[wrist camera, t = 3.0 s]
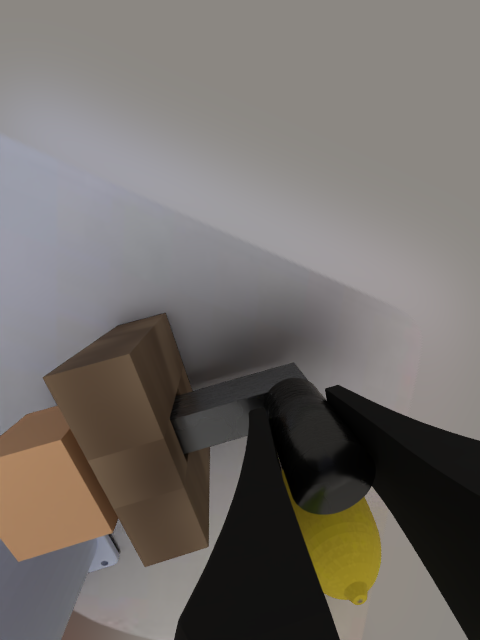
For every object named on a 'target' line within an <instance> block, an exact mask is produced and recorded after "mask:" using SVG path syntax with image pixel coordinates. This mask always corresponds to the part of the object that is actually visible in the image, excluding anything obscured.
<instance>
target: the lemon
mask: <svg viewBox="0 0 480 640" xmlns="http://www.w3.org/2000/svg"><path fill="white" fill-rule="evenodd" d="M282 476H283V480H284V483H285V486H286V489H287V492H288V495H289V498H290V501H291V504H292V506H293V509H294V512H295V515H296V518H297V521H298V524H299V526H300V529H301V532H302V535H303V538H304V541H305V543H306V546H307V549H308V552H309V554H310V557H311V560H312V563H313V566H314V568H315V571H316V574H317V577H318V579H319V582H320V585H321V588H322V590H323V593H325V594H327V595H328V596H331V597H333V598H337V599H342V600H350V601H351V602H352V603H354V604H355V605H360V604H363V603H364V602H365V601H366V600H367V592H368V590H369V589H370V588H371V587H372V585H373V584H374V582H375V580H376V578H377V575H378V572H379V568H380V563H381V543H380V537H379V532H378V529H377V526H376V523H375V520H374V518H373V515H372V513H371V511H370V508H369V506H368V504H367V501H366V499H365V497H363V498H362V499H361V500H360V501H359V502H358V503H356V504H355V505H353V506H352V507H350V508H348V509H346V510H344V511H341V512H338V513H334V514H327V515H318V514H313V513H309V512H307V511H305V510H303V509H302V508H300V507H299V506H298V505H297V504H296V503H295V501H294V500H293V498H292V495H291V492H290V489H289V486H288V483H287V480H286V477H285V474H284V471H283V470H282Z"/></svg>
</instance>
